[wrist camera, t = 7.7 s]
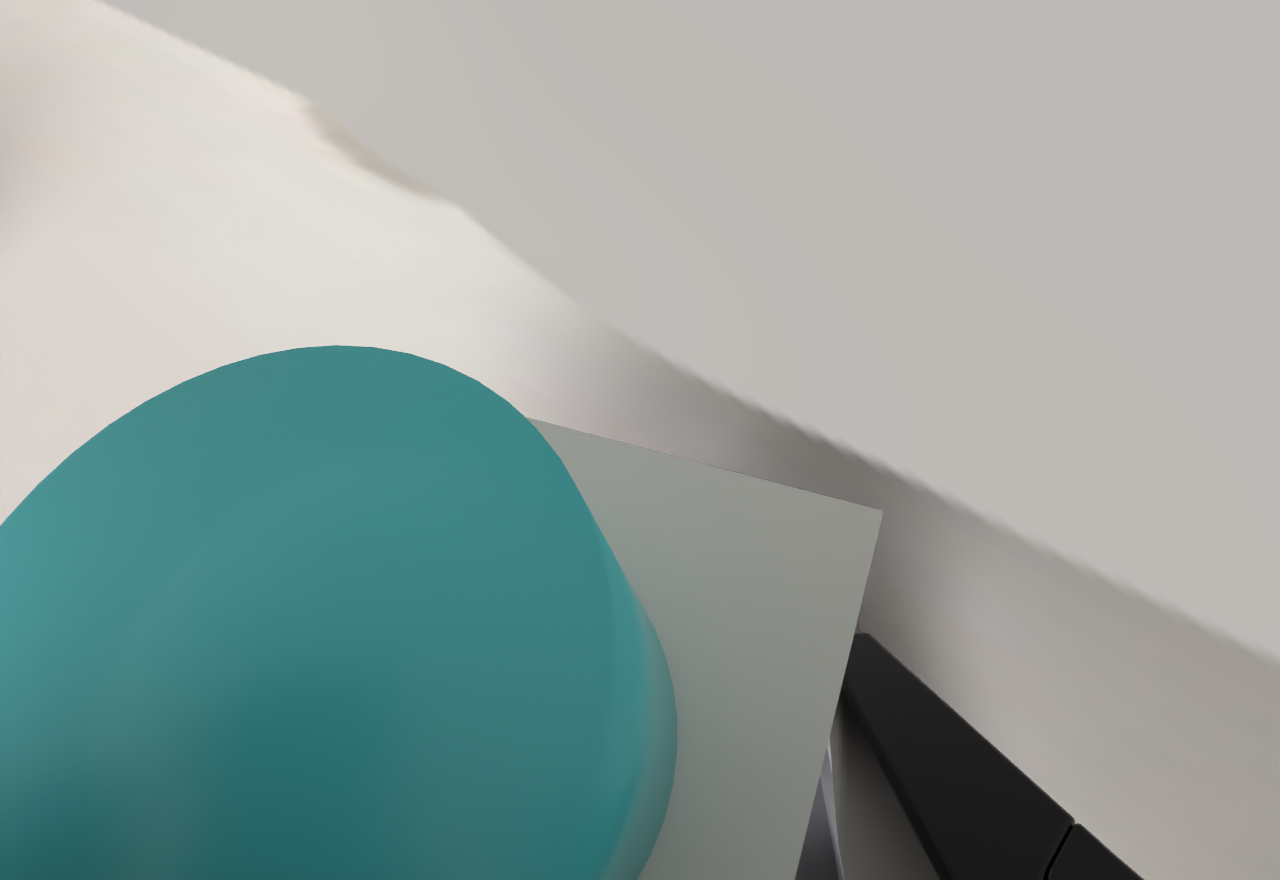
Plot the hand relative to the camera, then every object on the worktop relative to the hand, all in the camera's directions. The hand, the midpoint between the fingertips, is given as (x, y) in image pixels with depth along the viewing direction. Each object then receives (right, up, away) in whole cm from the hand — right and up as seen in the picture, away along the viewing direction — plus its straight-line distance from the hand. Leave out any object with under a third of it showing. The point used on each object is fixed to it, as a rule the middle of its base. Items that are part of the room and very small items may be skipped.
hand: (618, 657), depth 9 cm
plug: (+1, -4, +5) cm, 7 cm away
